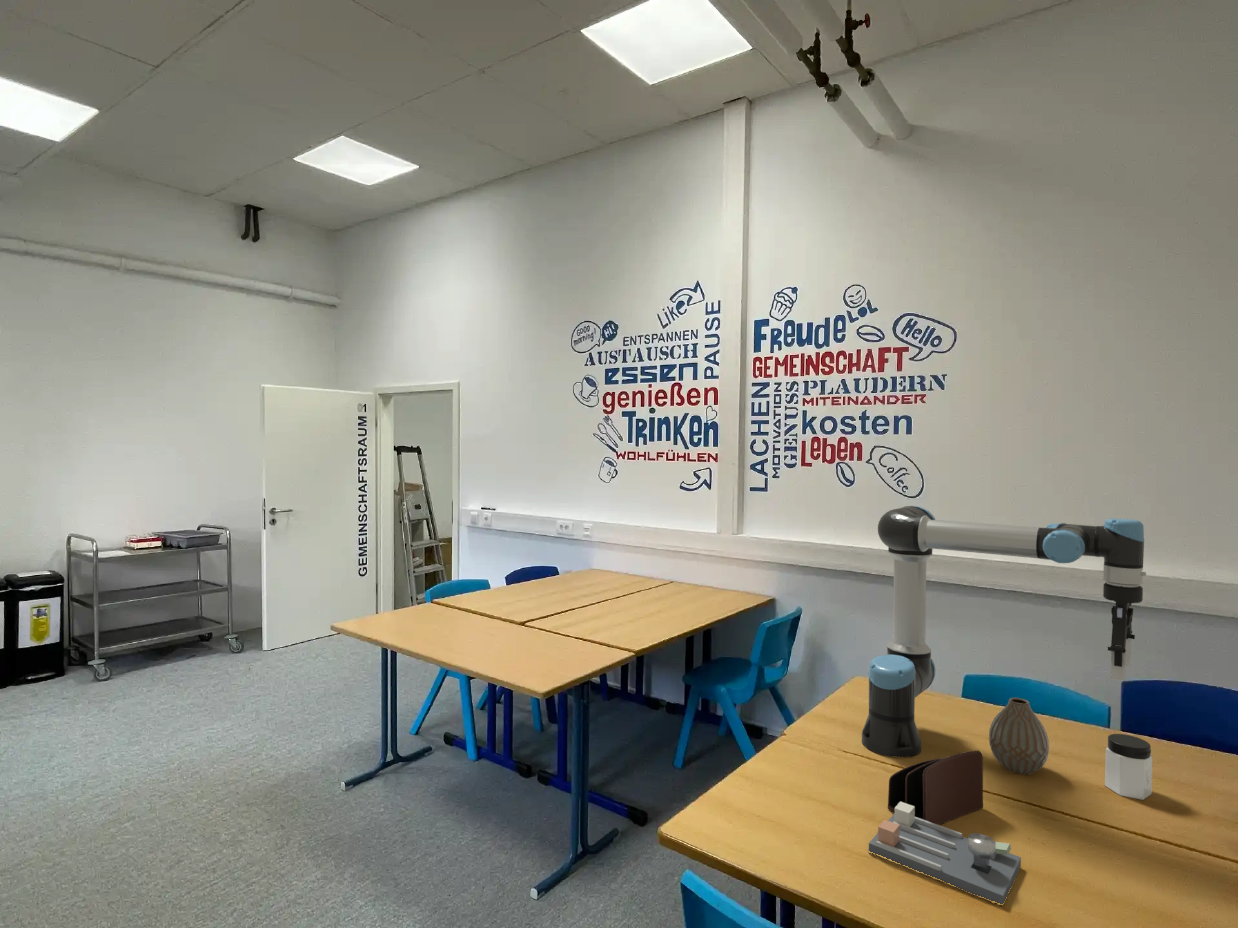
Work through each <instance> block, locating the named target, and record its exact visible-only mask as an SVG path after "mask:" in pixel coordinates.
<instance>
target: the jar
mask: <svg viewBox="0 0 1238 928" xmlns="http://www.w3.org/2000/svg"><path fill="white" fill-rule="evenodd" d="M1151 753H1152V749H1151V744H1150V743H1149V742H1148V741H1146V740H1144V739H1142V738H1139V737H1137V736H1133V735H1130V734H1124V733H1112V734H1108V736H1107V747H1106V748H1105V767H1104V768H1105V770H1104V771H1105V773H1104V785H1105V787H1107V788H1108V789H1110V790H1111V791H1113V792H1114V793H1116V794H1117V795H1118V796H1121V797H1126V798H1131V799H1136V800H1137V799H1138V800H1143V801H1144V800H1145V799H1147V798H1148V797H1149V796H1151V795H1152V784H1153V783H1152V780H1153V778H1152V777H1153V756H1152V754H1151Z"/></svg>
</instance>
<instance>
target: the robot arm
mask: <svg viewBox="0 0 1238 928" xmlns="http://www.w3.org/2000/svg"><path fill="white" fill-rule="evenodd" d="M1144 529H1145V528H1144V524H1143V523H1142V522H1141V521H1140V520H1138V519H1131V518H1130V519H1129V518H1115V517H1113V518H1107V519H1105V520H1104V524H1103V525H1085V524H1072V523H1065V522H1062V523H1053V522H1052V523H1049V524H1048V525H1047V526H1046V527H1038V526H1037V527H1036V526H1027V525H1026V526H1023V525H1011V524H996V523H995V524H994V523H983V522H968V521H956V520H955V521H954V520H953V521H952V520H938V519H936V517H935V516H934V515H933V514H932V513H931V512H930V511H929V510H928V509H926V508H924V507H921V506H917V505H906V506H903V507H898V508H893V509H890V510H888V511H886V512H885V513H884V514H883V515H882V516H881V517H880V518H879V521H878V524H877V534H878V536H879V539H880V540H881V542H882V543H883V544H884V545H885V546H886V547H887V548H888V553H889V555H890V556H891V557H892V558H893V605H892V606H893V607H892V608H893V614H892V615H893V616H892V617H893V618H892V621H893V623H892V625H893V626H892V640H890V641H889V642H888V643H887V645H886V648H887V649H886V650H887V651H886V653H887V654H884V655H878V656H875V657H874V658H873V659H871V661H870V662H869V666H868V667H869V668H868V672H867V674H868V715H867V718H866V721H865V723H864V725H863V728H862V731H861V744H863V746H864V747H865V748H866V749H868V750H870V751H872V752H874V753H877V754H879V755H883V756H888V757H892V758H893V757H894V758H911V757H915V756H917V755H920V753H921V752H922V741H921V738H920V734H919V731H918V728H917V725H916V721H915V703H916V701H915V699H916V697H918V696H919V695H921V694H922V693H923V692H924V691H926V690H928V688H929V687H930V686H931V685H932V683H933V682H934V680H935V676H936V665H935V663H934V660H933V659H932V648H931V647H930V646H929V645H928V644H927V643H926V626H927V625H926V618H927V617H926V615H927V613H926V611H927V610H926V609H927V606H926V605H927V602H926V601H927V561H928V559H929V558H931V556H932V555H933V550H934V549H935V550H942V551H944V550H945V551H955V552H966V553H977V554H986V555H997V556H1008V557H1010V556H1011V557H1019V558H1020V557H1021V558H1031V559H1040V560H1049V561H1053V562H1055V563H1057V564H1071V563H1074V562H1075V561H1078V560H1079V559H1080V558H1081V557H1082V556H1085V557H1096V558H1103V574H1102V575H1103V576H1102V577H1103V579H1102V580H1103V581H1104V583H1103V593H1102V595H1103V598H1104V599H1105V600H1108V601H1113V602H1114V604H1115V605H1112V607H1111V610H1110V611H1111V612H1110V613H1111V625H1112V628H1111V640H1110V641H1111V642H1110V646H1107V651H1109V652H1110V653H1111V654H1110V655H1111V657H1110V679H1113V680H1118V681H1124V682H1125V681H1127V680H1126V678H1127V677H1126V673H1127V671H1126V670H1127V667H1131V666H1132V665H1131V664H1132V640H1135V639H1136V636H1135V634H1133V631H1132V629H1133V628H1132V622H1133V616H1134V608H1133V607H1132V604H1140V603H1142V602H1143V598H1144V597H1143V596H1144V595H1143V594H1144V593H1143V591H1144V588H1143V587H1142V584H1143V583H1144V581H1143V580H1144V578H1143V577H1146V576H1147V572H1146V571H1143V570H1144V556H1145V555H1144V550H1145V537H1144V536H1145V534H1144V532H1145V531H1144Z"/></svg>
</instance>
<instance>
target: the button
mask: <svg viewBox="0 0 1238 928" xmlns="http://www.w3.org/2000/svg"><path fill="white" fill-rule="evenodd" d="M967 838H968V850H969V852H970V853H972V854H973V855H974V863H973V864H974V865H977V866H979V867H982V868H985V869H987V867H988V865H989V859H992V858H994V857H995V849H996V843H995V842H996V841H995V840H994V839H993V838H992V837H991V836H988V835H986V834H983V833H979V832H977V833H976V832H973V833H969V834H968V836H967Z"/></svg>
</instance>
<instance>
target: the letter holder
mask: <svg viewBox="0 0 1238 928" xmlns="http://www.w3.org/2000/svg"><path fill="white" fill-rule="evenodd" d="M983 758H984V757H983V754H982V752H981V751H980V750H971V751H970V750H968V751H965V752H960V753H956V754H953V755H949V756H945V757H939V758H933V759H929V760H923V761H921V762H916V763H915V764H912V765H909V766H907V767H904V768H901V769H899V770H898V771H896V772H895V773H893V774H892V775H891V776H890V777H889V779H888V793H887V795H888V796H887V810H888V809H889V810H888V811H890V810H891V811H890V812H892V813H893V812H894V813H895V807H896V806H897V805H898V804H899V802H903V803H906V804H909V805H912V806H915V817H917V818H920V819H923V820H926V821H929V822H931V823H934V824H937V825H940V826H942V825H943V824H946V823H948V822H951V821H954V820H956V819H959V818H961V817H964V816H967V815H968V814H972V813H974V812H976V811H978V810H979V811H980V810H981V809H983V808H984V785H983V784H984V761H983ZM894 813H893V814H894Z"/></svg>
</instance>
